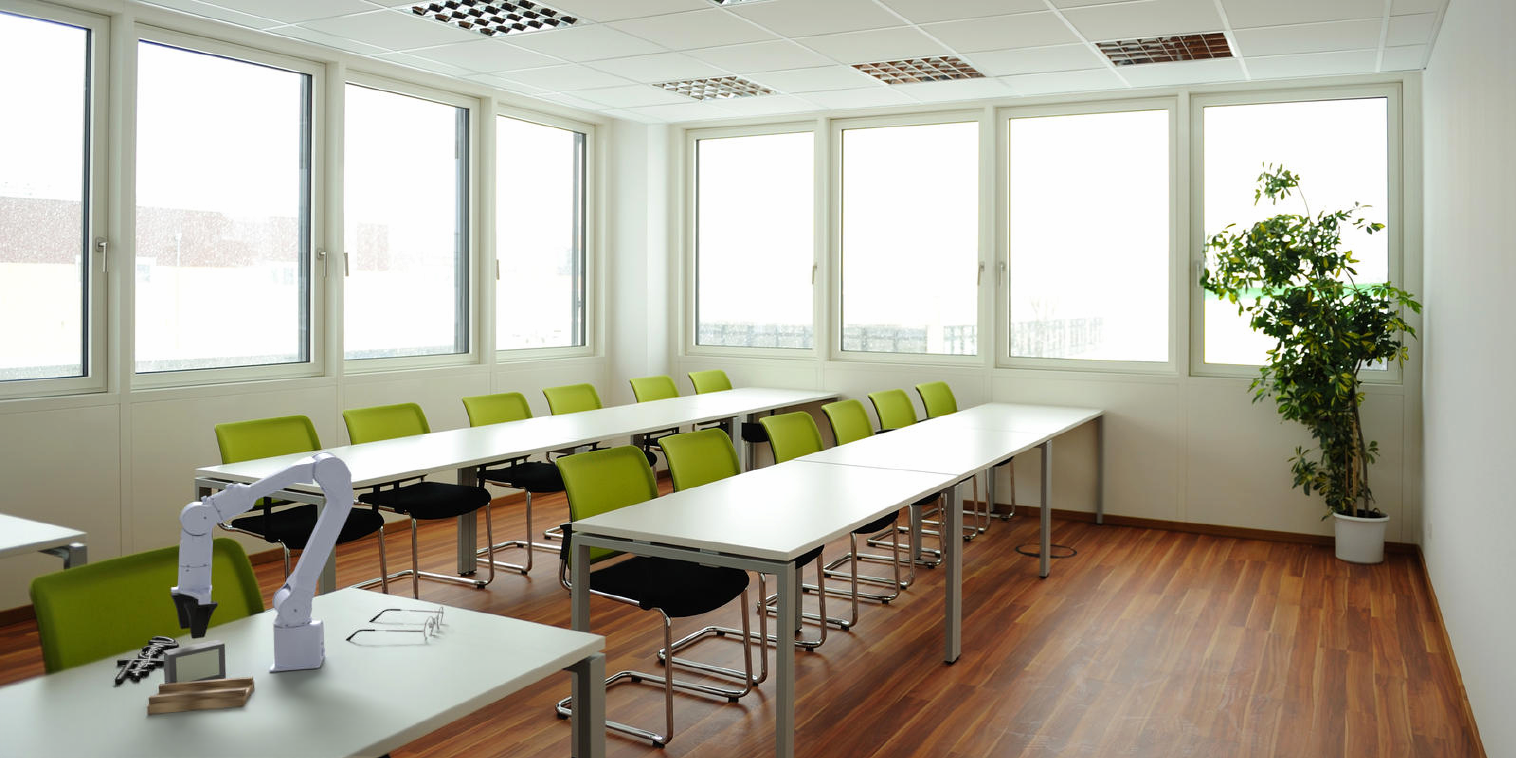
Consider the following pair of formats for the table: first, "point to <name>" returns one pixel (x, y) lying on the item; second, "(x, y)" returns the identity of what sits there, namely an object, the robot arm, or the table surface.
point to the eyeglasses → (406, 630)
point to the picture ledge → (201, 695)
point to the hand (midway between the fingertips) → (192, 632)
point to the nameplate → (145, 659)
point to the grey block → (195, 662)
